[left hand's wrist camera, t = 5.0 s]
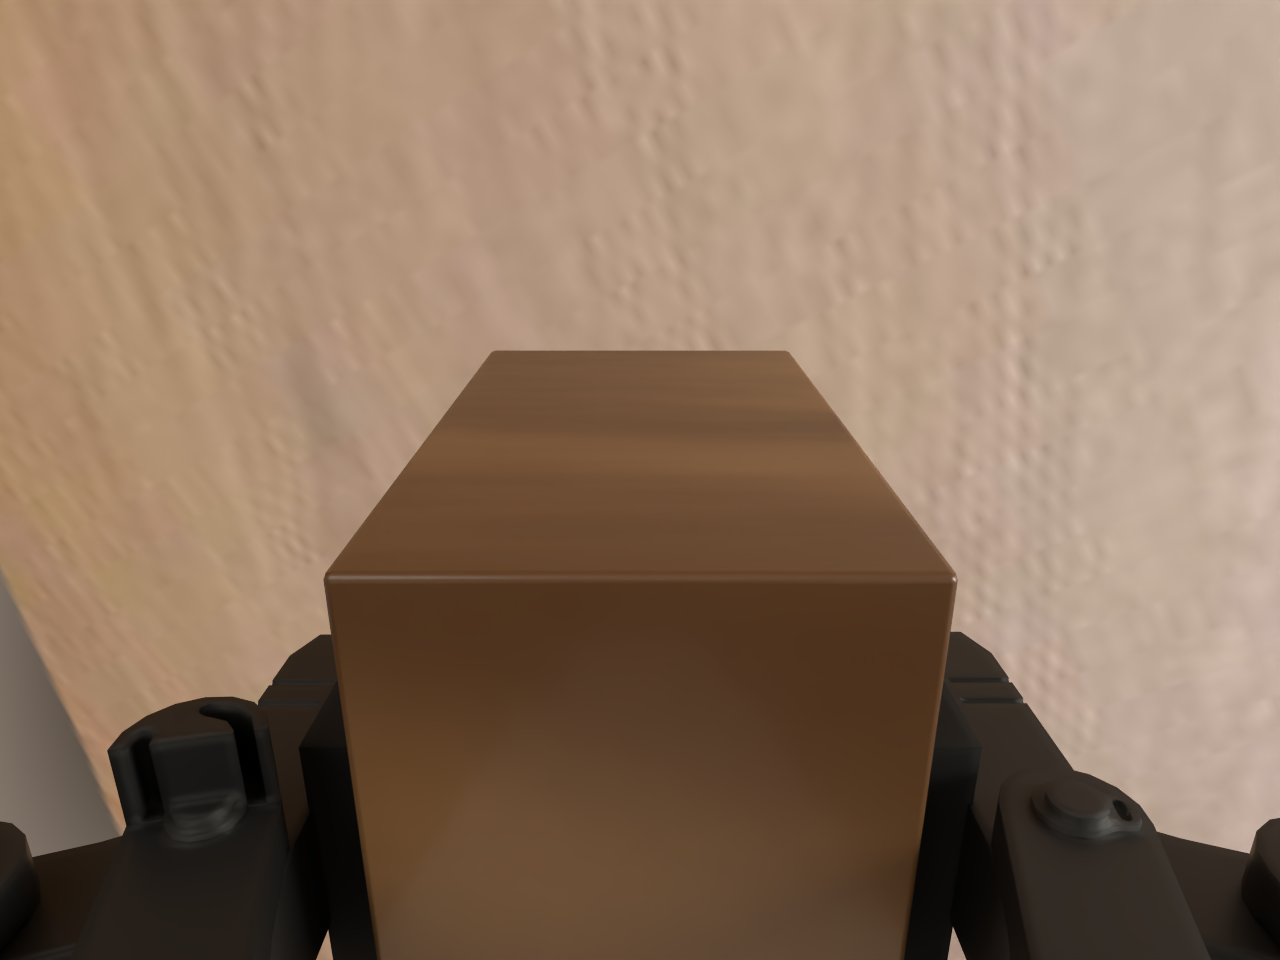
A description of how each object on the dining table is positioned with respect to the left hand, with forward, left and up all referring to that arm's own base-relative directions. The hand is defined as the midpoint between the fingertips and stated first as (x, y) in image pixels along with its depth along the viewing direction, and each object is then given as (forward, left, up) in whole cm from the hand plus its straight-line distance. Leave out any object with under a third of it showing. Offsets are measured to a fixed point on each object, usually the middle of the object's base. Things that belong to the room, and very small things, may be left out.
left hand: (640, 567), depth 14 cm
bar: (+9, 0, -1) cm, 9 cm away
